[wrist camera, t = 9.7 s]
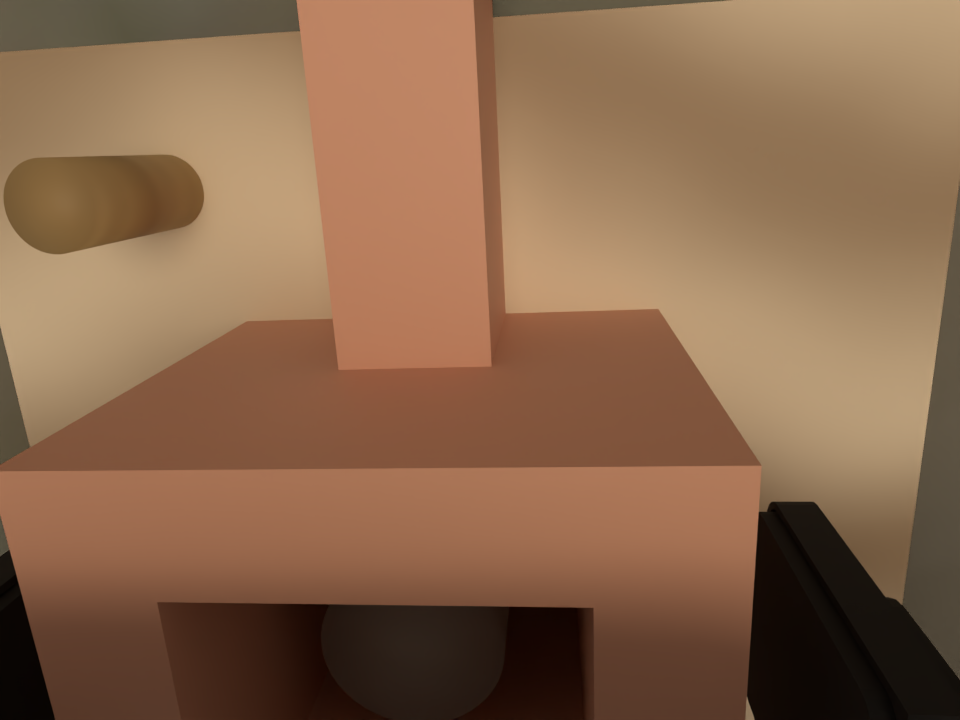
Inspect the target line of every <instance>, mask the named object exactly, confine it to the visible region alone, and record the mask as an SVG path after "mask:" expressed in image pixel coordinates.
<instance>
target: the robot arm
mask: <svg viewBox="0 0 960 720" xmlns="http://www.w3.org/2000/svg"><path fill="white" fill-rule="evenodd" d="M747 698H748V702H749V705H750V707H751V710H752V713H753V716H754V719H755V720H960V680H959V678H958V677H957V676H956V674H955V673H954V672H953V671H952V669H951V668H950V667H949V665H948V664H947V663H946V661H945V660H944V659H943V657H942V656H941V655H940V654H939V652H938V651H937V650H936V648H935V647H934V646H933V644H932V643H931V642H930V640H929V639H928V638H927V636H926V635H925V634H924V633H923V631H922V630H921V629H920V627H919V626H918V625H917V623H916V622H915V621H914V619H913V618H912V617H911V616H910V614H909V613H908V612H907V610H906V609H905V608H904V606H903V605H901V604H900V603H899V602H898V601H897V600H896V599H893V598H890V597H885V596H884V594H883V593H882V592H881V590H880V589H879V588H878V586H877V585H876V584H875V582H874V581H873V579H872V578H871V577H870V575H869V574H868V573H867V571H866V570H865V569H864V567H863V566H862V565H861V563H860V562H859V561H858V559H857V558H856V556H855V555H854V554H853V552H852V551H851V550H850V548H849V547H848V546H847V544H846V543H845V542H844V540H843V539H842V538H841V536H840V535H839V533H838V532H837V531H836V529H835V528H834V527H833V525H832V524H831V523H830V521H829V520H828V519H827V517H826V516H825V515H824V513H823V512H822V510H821V509H820V508H819V506H818V505H817V504H816V503H815V502H771V503H770V504H769V506H768V509H767V512H759V515H758V530H757V546H756V561H755V577H754V592H753V608H752V623H751V639H750V654H749V670H748V686H747ZM0 720H55V717H54V713H53V709H52V706H51V702H50V698H49V694H48V691H47V687H46V683H45V679H44V676H43V672H42V668H41V665H40V661H39V657H38V653H37V650H36V646H35V642H34V639H33V635H32V631H31V627H30V624H29V620H28V616H27V612H26V609H25V605H24V601H23V598H22V594H21V590H20V586H19V583H18V579H17V575H16V571H15V568H14V564H13V560H12V557H11V553H10V550H9V551H7V552H6V553H5V554H3V555H2V556H1V557H0Z"/></svg>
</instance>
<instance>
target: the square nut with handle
mask: <svg viewBox="0 0 960 720" xmlns="http://www.w3.org/2000/svg"><path fill="white" fill-rule="evenodd" d="M297 7H298V16H299V25H300V34H301V43H302V52H303V61H304V69H305V78H306V87H307V96H308V105H309V114H310V123H311V131H312V140H313V149H314V158H315V167H316V176H317V185H318V193H319V202H320V211H321V220H322V229H323V238H324V247H325V255H326V264H327V273H328V282H329V291H330V300H331V309H332V317H333V319H306V320H272V321H246V322H245V323H243V324H241V325H240V326H238V327H236V328H234V329H233V330H231V331H229V332H227V333H226V334H224V335H222V336H221V337H219V338H217V339H215V340H214V341H212V342H210V343H209V344H207V345H205V346H203V347H202V348H200V349H198V350H197V351H195V352H193V353H191V354H190V355H188V356H186V357H185V358H183V359H181V360H179V361H178V362H176V363H174V364H173V365H171V366H169V367H167V368H166V369H164V370H162V371H160V372H159V373H157V374H155V375H154V376H152V377H150V378H148V379H147V380H145V381H143V382H142V383H140V384H138V385H136V386H135V387H133V388H131V389H130V390H128V391H126V392H124V393H123V394H121V395H119V396H118V397H116V398H114V399H112V400H111V401H109V402H107V403H106V404H104V405H102V406H100V407H99V408H97V409H95V410H94V411H92V412H90V413H88V414H87V415H85V416H83V417H81V418H80V419H78V420H76V421H75V422H73V423H71V424H69V425H68V426H66V427H64V428H63V429H61V430H59V431H57V432H56V433H54V434H52V435H51V436H49V437H47V438H45V439H44V440H42V441H40V442H39V443H37V444H35V445H33V446H32V447H30V448H28V449H27V450H25V451H23V452H21V453H20V454H18V455H16V456H14V457H13V458H11V459H9V460H8V461H6V462H4V463H2V464H1V465H0V516H1V519H2V523H3V527H4V531H5V534H6V538H7V542H8V545H9V549H10V553H11V557H12V560H13V564H14V568H15V571H16V575H17V579H18V583H19V586H20V590H21V594H22V598H23V601H24V605H25V609H26V612H27V616H28V620H29V624H30V627H31V631H32V635H33V639H34V642H35V646H36V650H37V653H38V657H39V661H40V665H41V668H42V672H43V676H44V679H45V683H46V687H47V691H48V694H49V698H50V702H51V706H52V709H53V713H54V717H55V720H392V719H388V718H385V717H383V716H380V715H378V714H375V713H373V712H371V711H370V710H368V709H366V708H364V707H363V706H361V705H360V704H358V703H357V702H356V701H354V700H353V699H352V698H351V697H350V696H349V695H347V694H346V693H345V692H344V691H343V689H342V688H341V687H340V686H339V685H338V684H337V682H336V681H335V679H334V678H333V676H332V675H331V673H330V671H329V669H328V667H327V664H326V662H325V659H324V656H323V651H322V646H321V630H322V624H323V620H324V616H325V614H326V612H327V609H328V607H329V605H330V604H344V605H422V606H501V607H509V613H508V624H507V635H506V646H505V658H504V664H503V670H502V673H501V676H500V678H499V681H498V683H497V684H496V686H495V688H494V690H493V691H492V692H491V693H490V695H489V696H488V697H487V698H486V699H485V700H484V701H483V702H482V703H481V704H480V705H479V706H477V707H476V708H474V709H473V710H472V711H470V712H468V713H466V714H464V715H462V716H460V717H457V718H455V719H452V720H745V717H746V701H747V686H748V670H749V654H750V639H751V623H752V608H753V592H754V577H755V561H756V546H757V530H758V515H759V499H760V484H761V468H762V465H761V464H760V462H759V461H758V459H757V458H756V456H755V455H754V453H753V452H752V450H751V449H750V447H749V446H748V444H747V443H746V441H745V440H744V438H743V437H742V435H741V434H740V432H739V431H738V429H737V428H736V426H735V424H734V423H733V421H732V420H731V418H730V417H729V415H728V414H727V412H726V411H725V409H724V408H723V406H722V405H721V403H720V402H719V400H718V399H717V397H716V396H715V394H714V393H713V391H712V390H711V388H710V387H709V385H708V384H707V382H706V380H705V379H704V377H703V376H702V374H701V373H700V371H699V370H698V368H697V367H696V365H695V364H694V362H693V361H692V359H691V358H690V356H689V355H688V353H687V352H686V350H685V349H684V347H683V346H682V344H681V343H680V341H679V340H678V338H677V336H676V335H675V333H674V332H673V330H672V329H671V327H670V326H669V324H668V323H667V321H666V320H665V318H664V317H663V315H662V314H661V312H660V311H659V309H639V310H606V311H573V312H539V313H506V311H505V288H504V264H503V241H502V218H501V194H500V171H499V148H498V124H497V101H496V77H495V54H494V31H493V7H492V0H297Z"/></svg>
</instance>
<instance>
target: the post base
mask: <svg viewBox="0 0 960 720" xmlns="http://www.w3.org/2000/svg"><path fill="white" fill-rule="evenodd" d="M493 31H494V54H495V77H496V101H497V124H498V148H499V171H500V194H501V218H502V241H503V264H504V288H505V311H506V313H539V312H573V311H606V310H639V309H659V311H660V312H661V314H662V315H663V317H664V318H665V320H666V321H667V323H668V324H669V326H670V327H671V329H672V330H673V332H674V333H675V335H676V336H677V338H678V340H679V341H680V343H681V344H682V346H683V347H684V349H685V350H686V352H687V353H688V355H689V356H690V358H691V359H692V361H693V362H694V364H695V365H696V367H697V368H698V370H699V371H700V373H701V374H702V376H703V377H704V379H705V380H706V382H707V384H708V385H709V387H710V388H711V390H712V391H713V393H714V394H715V396H716V397H717V399H718V400H719V402H720V403H721V405H722V406H723V408H724V409H725V411H726V412H727V414H728V415H729V417H730V418H731V420H732V421H733V423H734V424H735V426H736V428H737V429H738V431H739V432H740V434H741V435H742V437H743V438H744V440H745V441H746V443H747V444H748V446H749V447H750V449H751V450H752V452H753V453H754V455H755V456H756V458H757V459H758V461H759V462H760V464H761V465H762V468H761V484H760V499H759V512H767V509H768V506H769V504H770V503H771V502H815V503H816V504H817V505H818V506H819V508H820V509H821V510H822V512H823V513H824V515H825V516H826V517H827V519H828V520H829V521H830V523H831V524H832V525H833V527H834V528H835V529H836V531H837V532H838V533H839V535H840V536H841V538H842V539H843V540H844V542H845V543H846V544H847V546H848V547H849V548H850V550H851V551H852V552H853V554H854V555H855V556H856V558H857V559H858V561H859V562H860V563H861V565H862V566H863V567H864V569H865V570H866V571H867V573H868V574H869V575H870V577H871V578H872V579H873V581H874V582H875V584H876V585H877V586H878V588H879V589H880V590H881V592H882V593H883V594H884V596H885V597H890V598H893V599H896V600H897V601H898V602H899V603H900V604H901V605H902V602H903V595H904V587H905V580H906V572H907V565H908V558H909V550H910V543H911V536H912V528H913V521H914V513H915V506H916V499H917V491H918V484H919V477H920V469H921V462H922V454H923V447H924V440H925V432H926V425H927V417H928V410H929V403H930V395H931V388H932V381H933V373H934V366H935V358H936V351H937V344H938V336H939V329H940V322H941V314H942V307H943V299H944V292H945V285H946V277H947V270H948V262H949V255H950V248H951V240H952V233H953V226H954V218H955V211H956V203H957V196H958V189H959V181H960V0H732V1H718V2H704V3H689V4H675V5H661V6H647V7H633V8H619V9H605V10H590V11H576V12H562V13H548V14H534V15H520V16H506V17H493ZM306 319H333V317H332V309H331V300H330V291H329V282H328V273H327V264H326V255H325V247H324V238H323V229H322V220H321V211H320V202H319V193H318V185H317V176H316V167H315V158H314V149H313V140H312V131H311V123H310V114H309V105H308V96H307V87H306V78H305V69H304V61H303V52H302V43H301V34H300V31H294V32H280V33H265V34H251V35H237V36H223V37H209V38H195V39H181V40H166V41H152V42H138V43H124V44H110V45H96V46H82V47H68V48H53V49H39V50H25V51H11V52H0V327H1V331H2V335H3V339H4V343H5V347H6V351H7V355H8V360H9V364H10V368H11V372H12V376H13V380H14V384H15V388H16V392H17V396H18V400H19V404H20V408H21V412H22V416H23V421H24V425H25V429H26V433H27V437H28V441H29V445H30V447H32V446H33V445H35V444H37V443H39V442H40V441H42V440H44V439H45V438H47V437H49V436H51V435H52V434H54V433H56V432H57V431H59V430H61V429H63V428H64V427H66V426H68V425H69V424H71V423H73V422H75V421H76V420H78V419H80V418H81V417H83V416H85V415H87V414H88V413H90V412H92V411H94V410H95V409H97V408H99V407H100V406H102V405H104V404H106V403H107V402H109V401H111V400H112V399H114V398H116V397H118V396H119V395H121V394H123V393H124V392H126V391H128V390H130V389H131V388H133V387H135V386H136V385H138V384H140V383H142V382H143V381H145V380H147V379H148V378H150V377H152V376H154V375H155V374H157V373H159V372H160V371H162V370H164V369H166V368H167V367H169V366H171V365H173V364H174V363H176V362H178V361H179V360H181V359H183V358H185V357H186V356H188V355H190V354H191V353H193V352H195V351H197V350H198V349H200V348H202V347H203V346H205V345H207V344H209V343H210V342H212V341H214V340H215V339H217V338H219V337H221V336H222V335H224V334H226V333H227V332H229V331H231V330H233V329H234V328H236V327H238V326H240V325H241V324H243V323H245V322H246V321H272V320H306ZM508 613H509V607H501V606H422V605H344V604H330V605H329V607H328V609H327V612H326V614H325V616H324V620H323V624H322V630H321V646H322V651H323V656H324V659H325V662H326V664H327V667H328V669H329V671H330V673H331V675H332V676H333V678H334V679H335V681H336V682H337V684H338V685H339V686H340V687H341V688H342V689H343V691H344V692H345V693H346V694H347V695H349V696H350V697H351V698H352V699H353V700H354V701H356V702H357V703H358V704H360V705H361V706H363V707H364V708H366V709H368V710H370V711H371V712H373V713H375V714H378V715H380V716H383V717H385V718H388V719H392V720H452V719H455V718H457V717H460V716H462V715H464V714H466V713H468V712H470V711H472V710H473V709H474V708H476V707H477V706H479V705H480V704H481V703H482V702H483V701H484V700H485V699H486V698H487V697H488V696H489V695H490V693H491V692H492V691H493V690H494V688H495V686H496V684H497V683H498V681H499V678H500V676H501V673H502V670H503V664H504V658H505V646H506V635H507V624H508ZM745 720H755V719H754V716H753V713H752V710H751V707H750V705H749V702H748V698H747V701H746V717H745Z"/></svg>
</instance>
